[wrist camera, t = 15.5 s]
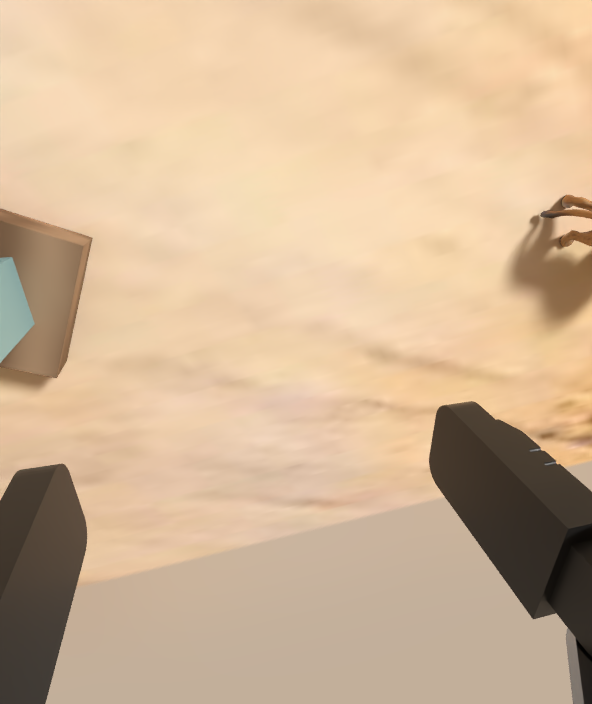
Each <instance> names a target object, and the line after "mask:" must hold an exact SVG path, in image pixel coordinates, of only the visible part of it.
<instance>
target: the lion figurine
mask: <svg viewBox="0 0 592 704" xmlns="http://www.w3.org/2000/svg"><path fill="white" fill-rule="evenodd" d="M562 205H563V207H566V208H570V207H572V206H576V207H579V208H583V209H587V210H589V211H586V210H577V209H572V210H561V211H550V210H548V211H543V212H542V213H541V215H540V216H541V217H547V218H555V217H559V216H579V217H585V218H590V219H592V201H589V200H587V199H586V198H582V197H574V196H572V195H566V196H565V197H564V198H563V200H562ZM574 240H576V241H579V242H581V243H584V244H586V245H589V246H592V231H589V232H584V233H580V232H578V231H573V230H572V231H570V232H569V233H567V234H566V235H564V236H563V237H562V238H561V245H562V246H563V247H566V246H570V245H571V244H572V243H573V241H574Z"/></svg>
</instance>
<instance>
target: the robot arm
mask: <svg viewBox="0 0 592 704" xmlns="http://www.w3.org/2000/svg"><path fill="white" fill-rule="evenodd" d="M429 465H430V470H431V474H432V477H433V479H434V481H435V483H436V485H437V486H438V488H439V489H440V491H441V492H442V493H443V495H444V496H445V498H446V499H447V500H448V502H449V503H450V504H451V506H452V507H453V509H454V510H455V511H456V513H457V514H458V516H459V517H460V518H461V520H462V521H463V523H464V524H465V525H466V527H467V528H468V529H469V531H470V532H471V534H472V535H473V536H474V538H475V539H476V541H477V542H478V543H479V545H480V546H481V548H482V549H483V550H484V552H485V553H486V554H487V556H488V557H489V559H490V560H491V561H492V563H493V564H494V565H495V567H496V568H497V570H498V571H499V573H500V574H501V575H502V577H503V578H504V579H505V581H506V582H507V583H508V585H509V586H510V588H511V589H512V590H513V592H514V593H515V595H516V596H517V598H518V599H519V600H520V602H521V603H522V604H523V606H524V607H525V608H526V610H527V611H528V613H529V614H530V615H531V617H532V618H533V619H536V618H540V617H544V616H547V615H551V614H555V613H557V614H558V616H559V617H560V618H561V619H562V621H563V622H564V623H565V625H566V626H567V627H568V629H567V634H566V644H567V653H568V662H569V671H570V680H571V689H572V698H573V704H592V492H591V491H590V490H589V489H588V488H587V487H586V486H584V485H583V484H582V483H581V482H580V481H579V480H578V479H576V478H575V477H574V476H573V475H572V474H571V473H570V472H568V471H567V470H566V469H565V468H564V467H563V466H561V465H560V464H558V465H557V464H556V460H554V459H553V458H552V457H551V456H550V455H549V454H548V453H546V452H545V451H541V449H540V447H539V446H538V445H537V444H536V443H535V442H534V441H533V440H531V439H530V438H529V437H528V436H527V435H526V434H524V433H523V432H522V431H520V430H518V429H516V428H514V427H512V426H511V425H509V424H507V423H505V422H503V421H501V420H495V419H494V418H493V417H492V416H491V415H490V414H489V413H488V412H486V411H485V410H484V409H483V408H482V407H481V406H480V405H479V404H477V403H476V402H472V401H471V402H464V403H457V404H450V405H444V406H441V407H439V409H438V410H437V413H436V419H435V425H434V431H433V438H432V444H431V450H430V456H429ZM86 545H87V527H86V521H85V517H84V514H83V511H82V508H81V505H80V502H79V499H78V496H77V494H76V491H75V488H74V485H73V482H72V479H71V476H70V473H69V470H68V468H67V467H66V466H65V465H64V464H57V465H50V466H43V467H37V468H30V469H23V470H19V471H18V472H17V473H16V474H15V475H14V477H13V478H12V480H11V482H10V484H9V486H8V488H7V489H6V491H5V493H4V495H3V497H2V499H1V500H0V704H45V702H46V699H47V695H48V692H49V687H50V684H51V680H52V676H53V673H54V669H55V665H56V661H57V657H58V653H59V650H60V646H61V642H62V639H63V635H64V631H65V627H66V623H67V620H68V616H69V612H70V608H71V605H72V601H73V597H74V593H75V589H76V586H77V582H78V578H79V574H80V571H81V567H82V563H83V559H84V555H85V551H86Z"/></svg>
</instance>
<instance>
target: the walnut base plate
mask: <svg viewBox="0 0 592 704" xmlns="http://www.w3.org/2000/svg"><path fill="white" fill-rule="evenodd" d="M91 242H92V238H91V237H88V236H85V235H82V234H78V233H75V232H72V231H69V230H66V229H63V228H60V227H56V226H53V225H50V224H47V223H44V222H41V221H38V220H34V219H31V218H28V217H25V216H22V215H19V214H15V213H12V212H9V211H6V210H3V209H0V258H5V257H12V258H13V261H14V264H15V267H16V270H17V273H18V276H19V279H20V282H21V285H22V288H23V291H24V294H25V297H26V300H27V303H28V306H29V309H30V312H31V314H32V317H33V320H34V323H35V324H34V325H33V327H32V328H31V329H30V330H29V331H28V332H27V333H26V334H25V336H24V337H23V338H22V339H21V340H20V341H19V342H18V343H17V345H16V346H15V347H14V348H13V349H12V350H11V351H10V352H9V354H8V355H7V356H6V357H5V358H4V359H3V360H2V362H1V363H0V367H4V368H9V369H14V370H18V371H23V372H28V373H33V374H38V375H43V376H48V377H53V378H57V377H58V375H59V373H60V371H61V370H62V368H63V366H64V365H65V363H66V361H67V357H68V352H69V347H70V342H71V337H72V333H73V328H74V323H75V318H76V314H77V309H78V304H79V299H80V294H81V290H82V285H83V280H84V275H85V270H86V266H87V261H88V256H89V251H90V246H91Z"/></svg>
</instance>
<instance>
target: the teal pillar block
mask: <svg viewBox="0 0 592 704" xmlns="http://www.w3.org/2000/svg"><path fill="white" fill-rule="evenodd" d="M34 324H35V323H34V320H33V317H32V314H31V312H30V309H29V306H28V303H27V300H26V297H25V294H24V291H23V288H22V285H21V282H20V279H19V276H18V273H17V270H16V267H15V264H14V261H13V258H12V257H5V258H0V363H1V362H2V360H3V359H4V358H5V357H6V356H7V355H8V354H9V352H10V351H11V350H12V349H13V348H14V347H15V346H16V345H17V343H18V342H19V341H20V340H21V339H22V338H23V337H24V336H25V334H26V333H27V332H28V331H29V330H30V329H31V328H32V327H33V325H34Z"/></svg>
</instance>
